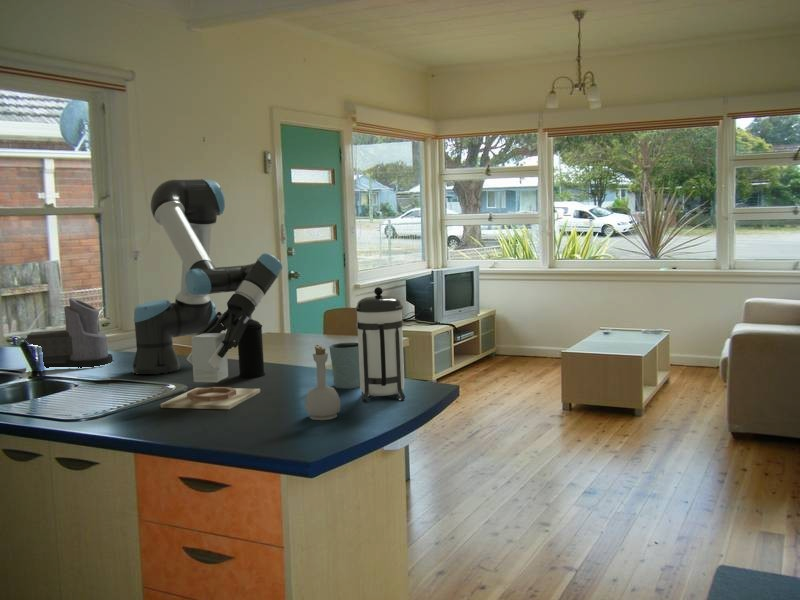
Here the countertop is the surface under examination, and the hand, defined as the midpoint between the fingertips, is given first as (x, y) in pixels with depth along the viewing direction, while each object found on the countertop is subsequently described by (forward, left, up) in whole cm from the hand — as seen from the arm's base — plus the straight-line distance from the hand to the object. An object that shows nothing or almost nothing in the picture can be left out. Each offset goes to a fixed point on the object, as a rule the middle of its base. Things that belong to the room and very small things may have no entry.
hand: (200, 363), depth 219 cm
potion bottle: (+39, -12, -11) cm, 43 cm away
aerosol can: (-2, +36, -11) cm, 37 cm away
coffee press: (+49, +9, -11) cm, 51 cm away
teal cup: (+34, +24, -11) cm, 43 cm away
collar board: (+1, +3, -11) cm, 11 cm away
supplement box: (+2, +3, -5) cm, 6 cm away
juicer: (-76, +47, -11) cm, 90 cm away
